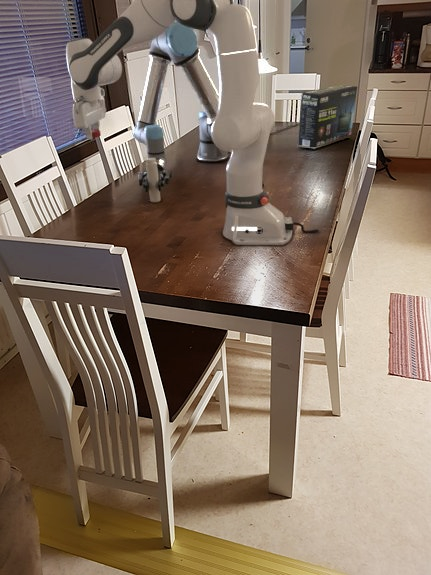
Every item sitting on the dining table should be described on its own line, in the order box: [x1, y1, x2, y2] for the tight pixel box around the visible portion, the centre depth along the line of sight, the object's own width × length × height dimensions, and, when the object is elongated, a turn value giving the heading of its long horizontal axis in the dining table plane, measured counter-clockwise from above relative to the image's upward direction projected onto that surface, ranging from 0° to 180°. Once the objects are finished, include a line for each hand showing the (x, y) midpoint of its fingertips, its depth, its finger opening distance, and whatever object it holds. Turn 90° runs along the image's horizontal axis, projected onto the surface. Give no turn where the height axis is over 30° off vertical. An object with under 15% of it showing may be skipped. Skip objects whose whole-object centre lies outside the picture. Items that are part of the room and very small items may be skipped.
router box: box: [297, 84, 358, 151], centre depth 238 cm, size 36×11×27 cm, turn 134°
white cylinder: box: [145, 157, 162, 203], centre depth 175 cm, size 4×4×16 cm
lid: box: [84, 128, 101, 139], centre depth 158 cm, size 5×5×2 cm
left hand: (152, 188), depth 171 cm, fingers closed on white cylinder, 4 cm apart
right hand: (93, 136), depth 159 cm, fingers closed on lid, 5 cm apart
